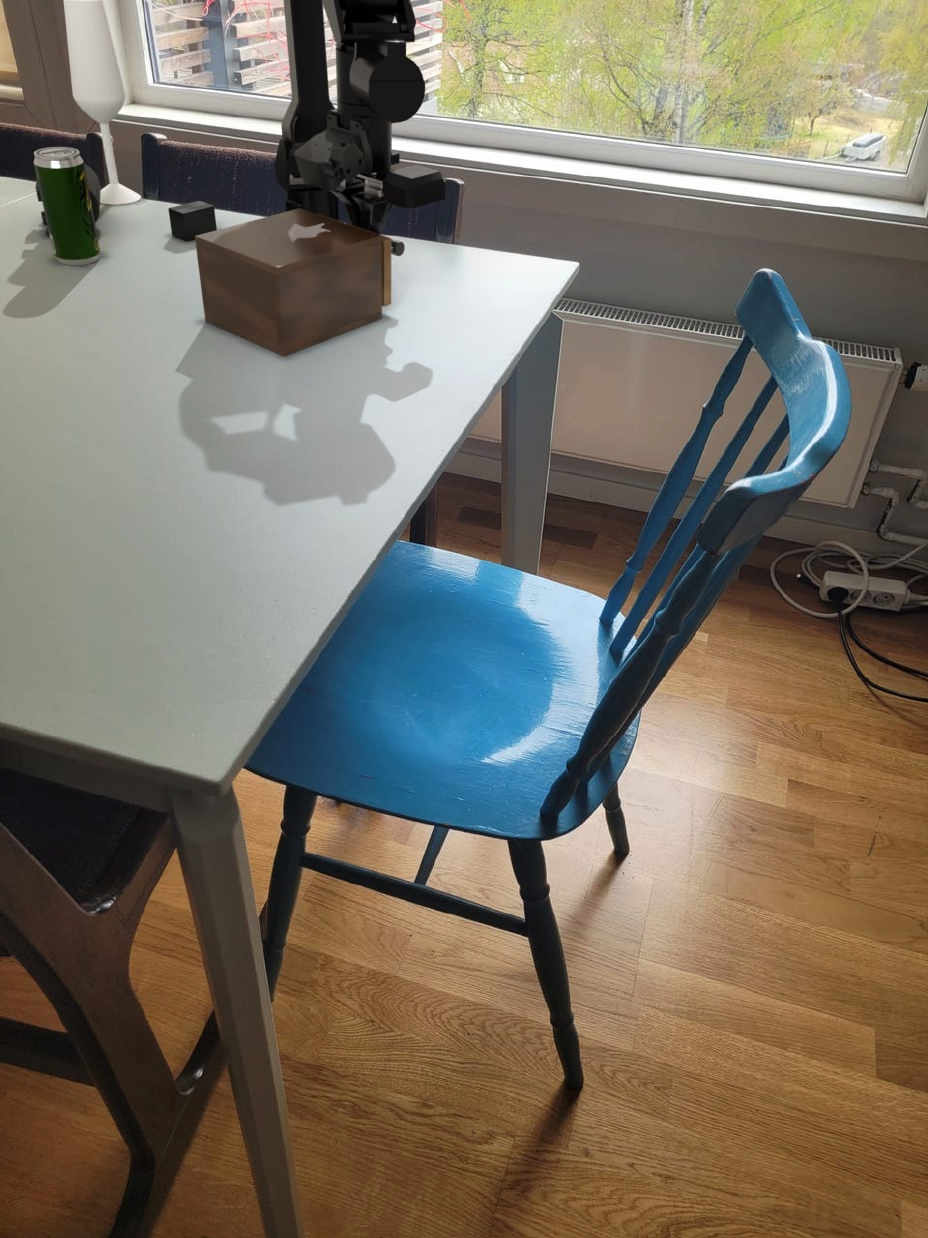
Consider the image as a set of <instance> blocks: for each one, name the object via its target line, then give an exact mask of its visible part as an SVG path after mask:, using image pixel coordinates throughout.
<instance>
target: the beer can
mask: <svg viewBox="0 0 928 1238" xmlns="http://www.w3.org/2000/svg"><path fill="white" fill-rule="evenodd" d="M33 155H34V160H33V165H34V170H35V175H36V181H37V180H38V184H39V189H40V194H41V198H42V207H43V211H44V212H45V216H46V221H47V226H48V230H49V235H50V237H49V239H50V244H51V249H52V253H53V256H54V258H55V259H56V260H57V262H58V263H60V264H62V265H66V266H84V265H85V266H86V265H90V264H93V263H95V262H97V261H98V260H99V258H100V256H101V255H100V254H101V247H100V243H99V242H100V241H99V237H98V231H97V227H96V223H95V220H94V215H93V210H92V204H91V199H90V194H89V188H88V183H87V178H86V172H85V167H84V164H85V162H84V159H83V158H82V157H81V153H80V151H79V149H77V148H73V147H67V146H51V147H44V148H43V147H42V148H39V149H37V150H35V151H34V152H33Z"/></svg>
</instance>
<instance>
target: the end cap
mask: <svg viewBox="0 0 928 1238" xmlns="http://www.w3.org/2000/svg"><path fill="white" fill-rule="evenodd" d="M84 167H85V172H86V178H87V183H88V188H89V194H90V199H91V204H92V210H93V215H94V220H95V224H97V222H98V219H99V217H100V211H101V203H100V194H101V190H102V188H101V183H100V179H99V177H98V174H96V172H95V170H93V169H92V168H91V167H90V166H89V165H87V164H86V163H84ZM35 181H36V182H35V192H36V196H37V201H38V203H39V202H40V203H41V202H42V198H41V194H40V189H39V184H38V180H37V179H36V180H35ZM40 214H41V219H42V220H41V221H42V224H43V226H45V235H46V236H47V237H48V238H50V235H49V230H48V226H47V221H46V216H45V212H44V210H42V211H41V210H40Z"/></svg>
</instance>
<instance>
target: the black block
mask: <svg viewBox="0 0 928 1238" xmlns="http://www.w3.org/2000/svg"><path fill="white" fill-rule="evenodd" d="M168 216H169V222H170V223H169V224H170V231H171V236H172V237H173V238H176V239H179V240H181V241H184V242H190V241H195V236H197V235H201V234H205V233H208V232H212V231H216V230H218V229H217V221H216V209H215V205H213V204H210V203H207V202H204V201H201V200H197V201H193V202H189V203H185V204H180V205H176V206H172V207H168Z"/></svg>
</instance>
